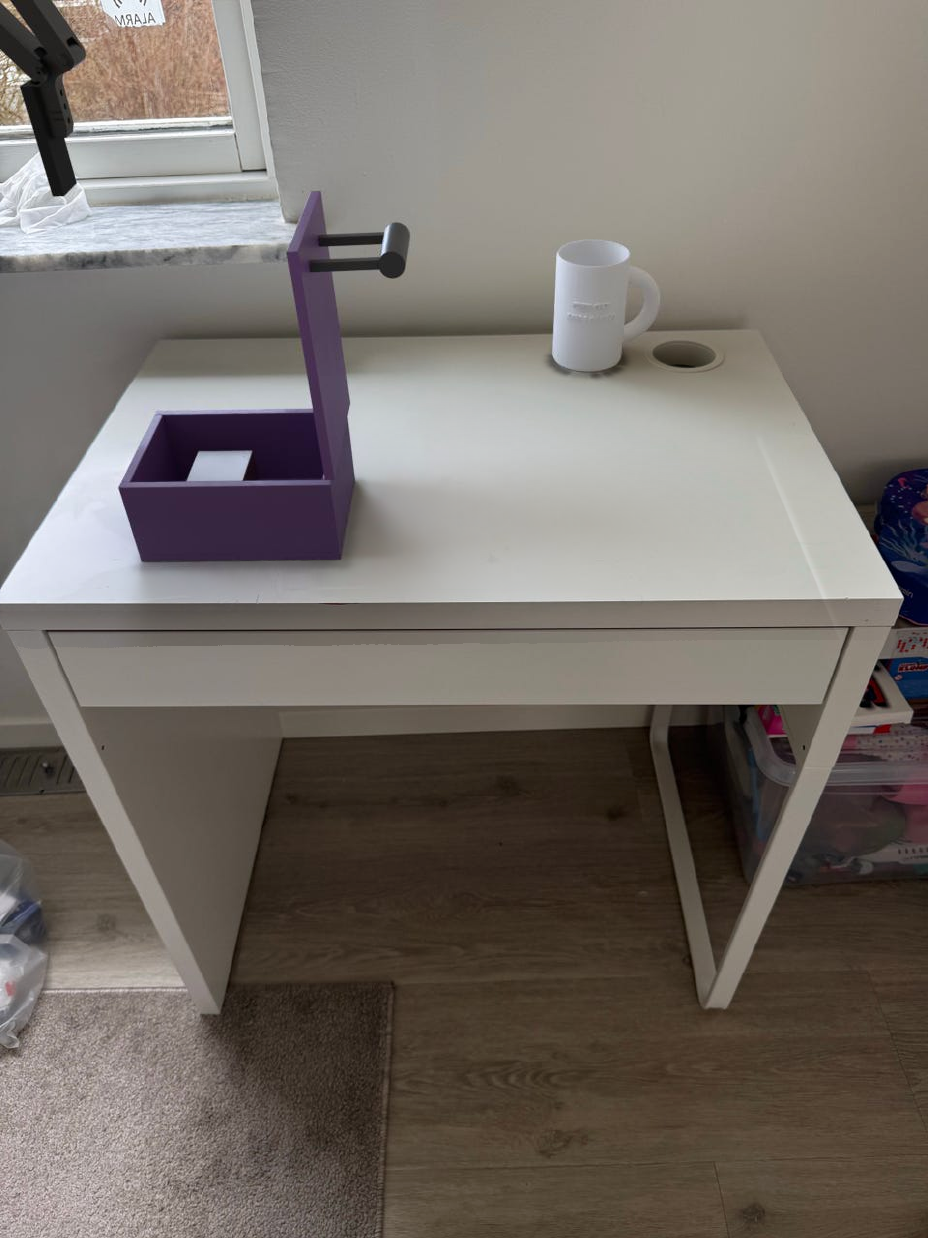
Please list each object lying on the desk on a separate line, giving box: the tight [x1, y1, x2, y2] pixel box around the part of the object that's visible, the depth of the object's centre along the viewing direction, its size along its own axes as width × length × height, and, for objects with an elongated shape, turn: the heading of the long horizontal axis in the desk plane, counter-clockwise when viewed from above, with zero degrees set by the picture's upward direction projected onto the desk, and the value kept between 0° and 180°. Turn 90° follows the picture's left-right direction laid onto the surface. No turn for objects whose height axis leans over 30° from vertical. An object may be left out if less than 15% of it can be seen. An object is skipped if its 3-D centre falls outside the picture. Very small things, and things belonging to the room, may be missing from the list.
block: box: [186, 450, 259, 482], centre depth 85 cm, size 5×5×5 cm
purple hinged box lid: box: [285, 190, 411, 480], centre depth 75 cm, size 19×13×8 cm
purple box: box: [117, 408, 356, 562], centre depth 85 cm, size 18×13×8 cm
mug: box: [551, 239, 661, 373], centre depth 106 cm, size 8×12×12 cm
